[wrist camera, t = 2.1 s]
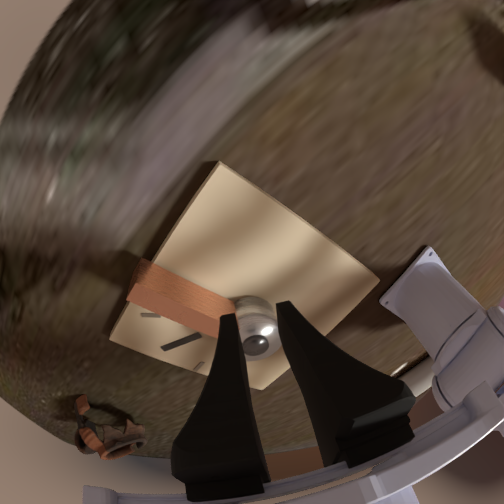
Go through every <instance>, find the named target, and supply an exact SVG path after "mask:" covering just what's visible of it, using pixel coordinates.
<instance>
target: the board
mask: <svg viewBox="0 0 504 504" xmlns="http://www.w3.org/2000/svg"><path fill="white" fill-rule="evenodd" d="M151 262H153V263H155V264H157V265H158V266H160V267H162V268H164V269H166V270H168V271H170V272H172V273H174V274H176V275H178V276H180V277H183V278H185V279H187V280H189V281H191V282H193V283H195V284H197V285H199V286H201V287H203V288H205V289H207V290H209V291H212V292H214V293H216V294H218V295H220V296H222V297H224V298H226V299H229V300H231V301H233V302H234V301H236V300H239V299H241V298H246V297H258V298H262V299H264V300H266V301H268V302H269V303H270V304H271V305H272V307H273V310H274V312H275V315H276V318H277V313H276V303H280V302H284V301H288V300H289V301H291V302H292V304H293V305H294V306H295V307H296V308H297V310H298V311H299V312H300V313H301V314H302V315H303V316H304V317H305V318H306V319H307V320H308V321H309V322H310V323H311V324H312V325H313V326H314V327H315V328H316V329H317V330H318V331H319V332H320V333H321V334H322V335H324V336H326V335H327V334H328V333H329V332H330V331H331V330H332V329H333V328H334V327H335V326H336V325H337V324H338V323H339V322H340V321H341V320H342V319H344V318H345V317H346V316H347V315H348V314H349V313H350V312H351V311H352V310H353V309H354V308H355V307H356V306H357V305H358V304H359V303H360V302H361V300H362V299H363V298H364V297H365V296H366V295H367V294H368V293H369V292H370V291H371V290H372V289H373V288H374V287H375V286H376V285H377V284H378V283H379V282H380V279H379V278H378V277H377V276H376V275H375V274H374V273H373V272H372V271H370V270H369V269H368V268H367V267H365V266H364V265H363V264H362V263H360V262H359V261H358V260H356V259H355V258H354V257H353V256H351V255H350V254H349V253H347V252H346V251H345V250H344V249H342V248H341V247H340V246H338V245H337V244H336V243H334V242H333V241H332V240H331V239H329V238H328V237H327V236H325V235H324V234H323V233H321V232H320V231H319V230H317V229H316V228H315V227H313V226H312V225H310V224H309V223H308V222H306V221H305V220H304V219H302V218H301V217H300V216H298V215H297V214H295V213H294V212H293V211H291V210H290V209H288V208H287V207H286V206H284V205H283V204H281V203H280V202H279V201H277V200H276V199H274V198H273V197H272V196H270V195H269V194H267V193H266V192H264V191H263V190H262V189H260V188H259V187H257V186H256V185H254V184H253V183H251V182H250V181H248V180H247V179H246V178H244V177H243V176H241V175H240V174H238V173H237V172H235V171H234V170H232V169H231V168H229V167H228V166H226V165H225V164H223V163H222V162H220V161H218V162H217V164H216V165H215V167H214V168H213V169H212V171H211V172H210V174H209V175H208V176H207V178H206V179H205V181H204V182H203V183H202V185H201V186H200V188H199V189H198V191H197V192H196V193H195V195H194V196H193V198H192V199H191V201H190V202H189V204H188V205H187V207H186V208H185V210H184V211H183V212H182V214H181V215H180V217H179V219H178V220H177V222H176V223H175V225H174V226H173V228H172V229H171V231H170V232H169V234H168V235H167V237H166V239H165V240H164V242H163V243H162V245H161V246H160V248H159V250H158V251H157V253H156V254H155V256H154V258H153V259H152V261H151ZM109 340H111V341H113V342H116V343H118V344H121V345H123V346H125V347H128V348H130V349H133V350H135V351H138V352H140V353H143V354H146V355H148V356H151V357H154V358H156V359H159V360H162V361H165V362H167V363H170V364H173V365H176V366H179V367H182V368H185V369H188V370H191V371H194V372H198V373H201V374H204V375H209V372H210V369H211V365H212V362H213V358H214V354H215V350H216V345H217V340H218V339H217V338H215V337H212V336H209V335H207V334H204V333H202V332H199V331H197V330H194V329H192V328H189V327H187V326H184V325H182V324H179V323H177V322H175V321H172V320H170V319H168V318H165V317H163V316H161V315H158V314H156V313H154V312H151V311H149V310H147V309H145V308H143V307H140V306H138V305H136V304H134V303H132V302H130V301H128V302H127V303H126V305H125V307H124V309H123V310H122V312H121V314H120V316H119V318H118V320H117V321H116V323H115V325H114V327H113V329H112V331H111V334H110V338H109ZM246 364H247V372H248V379H249V387H252V388H256V389H260V390H263V389H264V388H265V387H267V386H268V385H269V384H270V383H272V382H273V381H274V380H275V379H277V378H278V377H279V376H280V375H281V374H283V373H284V372H285V371H286V370H287V369H289V368H290V364H289V362H288V360H287V357H286V355H285V353H284V350H283V347H282V345H281V346H280V348H279V349H278V350H277V351H276V352H275V353H274V354H272V355H271V356H269V357H267V358H264V359H261V360H257V361H246Z"/></svg>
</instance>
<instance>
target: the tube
mask: <svg viewBox="0 0 504 504" xmlns="http://www.w3.org/2000/svg"><path fill="white" fill-rule="evenodd" d="M434 363H435V362H434V361H433V359H432V358H431V356H429V357H427V358H426V359H425V360H423V361H422V362H421V363H419V364H418V365H416V366H415V367H413V368H412V369H411V370H409V371H408V372H406V373H405V374H403V375H402V376H400V377H399V378H397V379H399V380H402V381H404V382H405V383H406V384H407V386H408V387H409V388H410V390H411V391H412V393H413V394H414V396H415V397H417V396H418V395H420V394H421V393H422V392H424V391H425V390H427V389H428V388H430V387H431V386H432V378H433V376H434V375H435V374H434V372H433V371H432V369H431V366H432V365H433V364H434Z"/></svg>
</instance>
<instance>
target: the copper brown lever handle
mask: <svg viewBox="0 0 504 504" xmlns="http://www.w3.org/2000/svg"><path fill="white" fill-rule="evenodd" d="M126 300H127V301H130V302H132V303H134V304H136V305H138V306H140V307H143V308H145V309H147V310H149V311H151V312H154V313H156V314H158V315H161V316H163V317H165V318H168V319H170V320H172V321H175V322H177V323H179V324H182V325H184V326H187V327H189V328H192V329H194V330H197V331H199V332H202V333H204V334H207V335H209V336H212V337H215V338H217V339H218V334H219V324H220V317H221V315H225V314H230V313H235V315H236V320H237V324H238V328H239V332H240V337H241V341H242V345H243V350H244V354H245V358H246V361H257V360H261V359H264V358H267V357H269V356H271V355H272V354H274V353H275V352H276V351H277V350H278V349H279V348H280V346H281V345H282V343H281V340H280V337H279V333H278V323H277V318H276V315H275V312H274V310H273V307H272V305H271V304H270V303H269V302H268V301H266V300H264V299H262V298H258V297H246V298H241V299H239V300H236V301H234V302H233V301H231V300H229V299H226V298H224V297H222V296H220V295H218V294H216V293H214V292H212V291H209V290H207V289H205V288H203V287H201V286H199V285H197V284H195V283H193V282H191V281H189V280H187V279H185V278H183V277H180V276H178V275H176V274H174V273H172V272H170V271H168V270H166V269H164V268H162V267H160V266H158V265H157V264H155V263H153V262H151V261H149V260H147V259H145V258H143V257H142V258H141V259H140V261H139V263H138V265H137V266H136V268H135V270H134V272H133V273H132V277H131V281H130V285H129V289H128V294H127V298H126Z"/></svg>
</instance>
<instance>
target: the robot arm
mask: <svg viewBox="0 0 504 504" xmlns="http://www.w3.org/2000/svg"><path fill="white" fill-rule="evenodd" d="M379 302H380V304H381V305H382V306H384V307H385V308H387V309H388V310H390V311H391V312H392V313H394V314H395V315H397V316H398V317H400V318H401V319H402V320H404V321H405V322H406V324H407V325H408V326H409V328H410V329H411V330H412V332H413V333H414V334H415V336H416V337H417V339H418V340H419V341H420V343H421V344H422V345H423V347H424V348H425V349H426V351H427V352H428V354H429V355H430V356H431V358H432V359H433V361H434V362H435V363H434V364H433V365H432V366H431V369H432V371H433V372H434V374H435V375H434V376H433V378H432V390H433V394H434V397H435V399H436V401H437V403H438V405H439V406H440V407H441V409H442V410H443V411H444V413H443V414H441V415H439V416H438V417H436V418H434V419H433V420H431V421H429V422H427V423H426V424H424V425H422V426H420V427H418V428H417V429H415V430H413V431H412V429H411V427H410V425H409V422H410V419H409V417H408V416H407V414H408V413H409V411H410V410H411V408H412V407H413V405H414V403H415V401H416V398H415V396H414V394H413V393H412V391H411V390H410V388H409V387H408V386H407V384H406V383H405V382H404V381H402V380H399V379H397V378H394V377H391V376H388V375H386V374H384V373H382V372H379V371H377V370H375V369H373V368H371V367H369V366H367V365H366V364H364V363H362V362H360V361H358V360H357V359H355V358H353V357H352V356H350V355H349V354H347V353H346V352H344V351H343V350H341V349H340V348H339V347H337V346H336V345H335V344H333V343H332V342H331V341H330V340H328V339H327V338H326V337H325V336H324V335H322V334H321V333H320V332H319V331H318V330H317V329H316V328H315V327H314V326H313V325H312V324H311V323H310V322H309V321H308V320H307V319H306V318H305V317H304V316H303V315H302V314H301V313H300V312H299V311H298V310H297V308H296V307H295V306H294V305H293V304H292V302H291V301H289V300H288V301H284V302H280V303H276V313H277V323H278V333H279V337H280V340H281V343H282V347H283V350H284V353H285V355H286V357H287V360H288V362H289V364H290V367H291V369H292V371H293V373H294V376H295V378H296V380H297V382H298V385H299V387H300V389H301V392H302V394H303V397H304V400H305V403H306V406H307V409H308V412H309V416H310V419H311V422H312V425H313V429H314V432H315V435H316V439H317V442H318V446H319V449H320V453H321V457H322V460H323V464H324V468H322V469H319V470H316V471H312V472H309V473H305V474H302V475H298V476H294V477H290V478H287V479H282V480H278V481H274V482H271V478H270V475H269V471H268V467H267V463H266V460H265V456H264V452H263V448H262V444H261V440H260V437H259V433H258V429H257V424H256V420H255V416H254V412H253V408H252V402H251V395H250V387H249V379H248V372H247V364H246V358H245V354H244V350H243V345H242V341H241V337H240V332H239V328H238V324H237V320H236V315H235V313H230V314H225V315H221V317H220V324H219V334H218V340H217V345H216V350H215V354H214V358H213V362H212V365H211V369H210V372H209V375H208V378H207V380H206V383H205V386H204V388H203V390H202V393H201V395H200V397H199V400H198V402H197V404H196V406H195V408H194V409H193V411H192V413H191V415H190V417H189V418H188V420H187V422H186V424H185V425H184V427H183V428H182V430H181V431H180V433H179V434H178V436H177V437H176V439H175V440H174V442H173V446H172V452H171V470H172V475H173V476H174V477H175V478H176V479H178V480H180V481H181V482H183V483H185V486H186V493H185V494H131V493H117V492H116V491H114V490H111V489H108V488H103V487H95V486H87V485H84V486H83V504H242V503H248V502H254V501H260V500H265V499H270V498H275V497H280V496H284V495H288V494H292V493H296V492H300V491H303V490H307V489H311V488H314V487H317V486H320V485H324V484H327V483H330V482H333V481H336V480H339V479H342V478H344V477H347V476H350V475H352V474H355V473H357V472H360V471H363V470H365V469H367V468H370V467H372V466H374V465H376V466H374V467H373V468H372V471H371V472H370V473H368V474H367V475H365V476H363V477H361V478H358V479H355V480H352V481H349V482H346V483H343V484H340V485H337V486H334V487H331V488H328V489H325V490H322V491H319V492H316V493H312V494H308V495H305V496H302V497H298V498H295V499H291V500H287V501H283V502H279V503H275V504H419V501H418V499H417V497H416V495H415V493H414V490H413V488H412V485H414V484H415V483H417V482H419V481H421V480H423V479H424V478H426V477H428V476H429V475H431V474H433V473H434V472H436V471H438V470H439V469H441V468H442V467H444V466H445V465H447V464H448V463H450V462H451V461H453V460H454V459H456V458H457V457H459V456H460V455H461V454H463V453H464V452H466V451H467V450H468V449H470V448H471V447H472V446H474V445H475V444H476V443H477V442H479V441H480V440H481V439H482V438H484V437H485V436H486V435H487V434H489V433H490V432H491V431H494V430H498V431H499V432H500V433H501V434H502V436H503V437H504V385H503V386H502V387H501V388H500V389H499V391H497V392H496V393H495V391H496V389H498V388H499V386H500V385H501V384H502V383H503V382H504V309H503V308H501V307H500V306H496V307H490V308H489V310H488V311H487V310H485V309H484V308H483V307H482V306H481V305H480V304H479V303H478V302H477V301H476V299H475V298H474V297H473V296H472V295H471V294H470V293H469V292H468V291H467V290H466V289H465V288H464V287H463V286H462V285H461V284H460V283H459V282H457V281H456V280H455V279H454V278H453V277H452V276H451V274H450V273H449V271H448V270H447V268H446V267H445V266H444V264H443V263H442V261H441V260H440V259H439V257H438V256H437V254H436V253H435V252H434V250H433V249H432V248H431V247H430V246H427V247H426V248H425V249H424V250H423V251H422V252H421V254H420V255H419V256H418V257H417V258H416V260H415V261H414V262H413V263H412V264H411V265H410V266H409V268H408V269H407V270H406V271H405V272H404V273H403V274H402V275H401V277H400V278H399V279H398V280H397V281H396V282H395V283H394V284H393V285H392V286H391V288H390V289H389V290H388V291H387V292H386V293H385V294H384V295H383V296H382V297H381V298H380V300H379ZM383 461H384V462H383ZM381 462H382V463H381ZM379 463H380V464H379ZM377 464H378V465H377Z"/></svg>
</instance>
